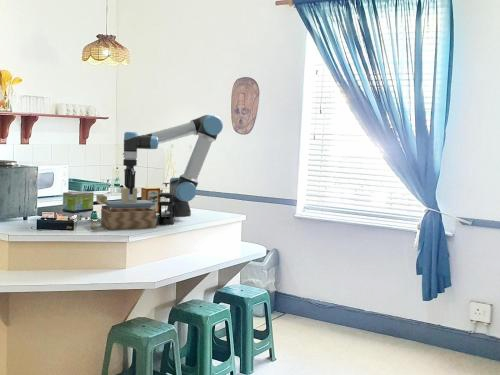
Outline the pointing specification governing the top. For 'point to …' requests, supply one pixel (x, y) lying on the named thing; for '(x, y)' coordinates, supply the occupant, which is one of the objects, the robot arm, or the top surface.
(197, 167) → the robot arm
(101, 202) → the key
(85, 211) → the tea box
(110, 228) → the brown woven basket
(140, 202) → the lid
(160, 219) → the french press
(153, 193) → the baking soda box
